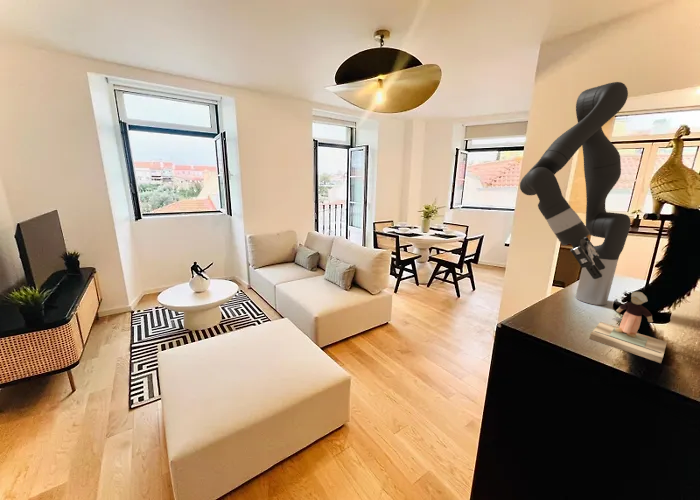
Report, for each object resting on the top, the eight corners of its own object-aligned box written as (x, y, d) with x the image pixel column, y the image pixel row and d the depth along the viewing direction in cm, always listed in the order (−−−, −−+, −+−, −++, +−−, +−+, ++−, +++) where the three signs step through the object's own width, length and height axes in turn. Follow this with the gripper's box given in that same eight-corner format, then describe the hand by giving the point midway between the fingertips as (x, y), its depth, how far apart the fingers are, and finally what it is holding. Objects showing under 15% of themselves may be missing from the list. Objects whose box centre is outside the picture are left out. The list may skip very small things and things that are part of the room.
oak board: (599, 326, 88) (600, 321, 88) (665, 347, 78) (667, 341, 77) (589, 338, 81) (590, 333, 80) (660, 363, 70) (662, 357, 70)
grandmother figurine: (608, 330, 83) (619, 289, 80) (612, 326, 85) (623, 286, 82) (645, 342, 76) (659, 298, 73) (648, 338, 79) (662, 295, 76)
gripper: (577, 224, 79) (613, 276, 76) (584, 216, 89) (617, 261, 86) (548, 237, 85) (582, 285, 82) (558, 228, 94) (588, 271, 91)
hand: (600, 273), depth 84 cm, fingers open, 8 cm apart
